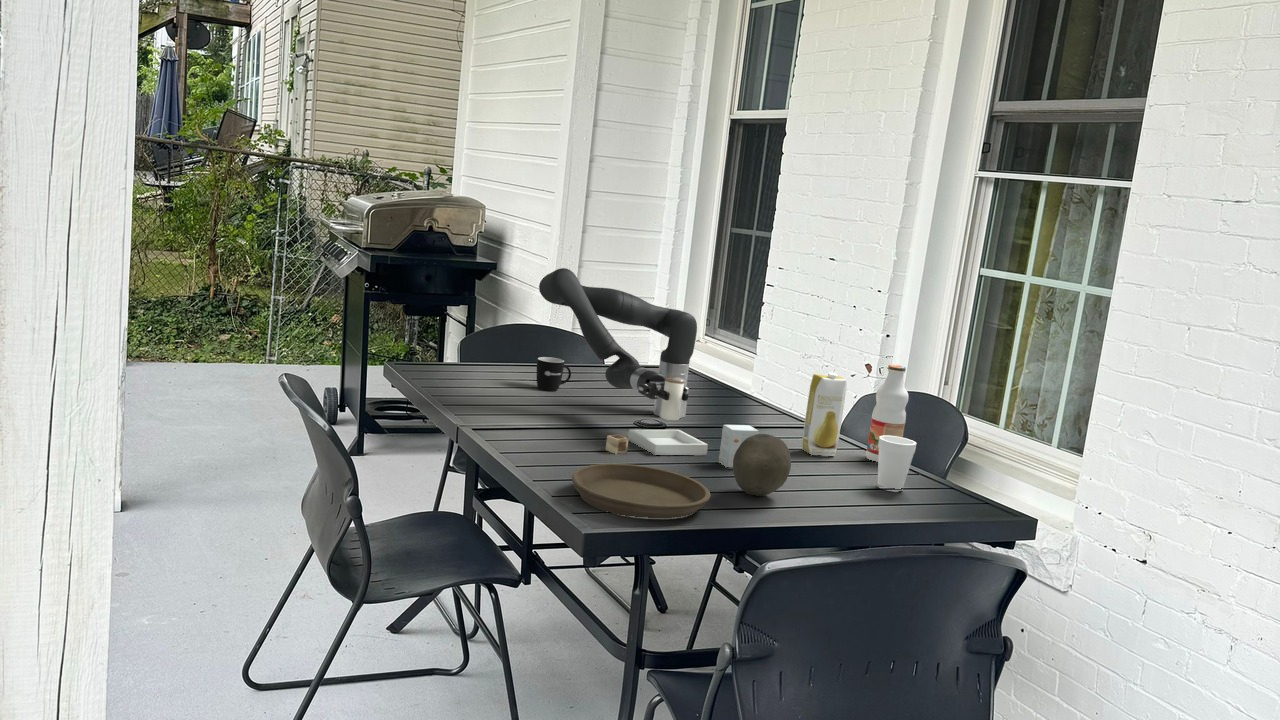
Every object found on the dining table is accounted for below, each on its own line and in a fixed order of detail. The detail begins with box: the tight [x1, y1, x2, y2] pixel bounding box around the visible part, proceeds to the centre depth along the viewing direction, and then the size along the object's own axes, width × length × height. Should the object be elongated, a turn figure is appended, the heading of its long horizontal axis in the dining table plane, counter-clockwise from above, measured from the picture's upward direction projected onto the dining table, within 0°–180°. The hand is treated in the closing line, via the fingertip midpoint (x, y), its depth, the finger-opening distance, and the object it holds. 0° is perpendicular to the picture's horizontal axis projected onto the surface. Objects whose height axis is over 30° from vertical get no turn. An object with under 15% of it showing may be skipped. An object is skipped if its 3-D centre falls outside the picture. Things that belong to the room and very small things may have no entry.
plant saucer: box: [571, 463, 711, 518], centre depth 227 cm, size 31×31×5 cm
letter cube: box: [605, 434, 629, 455], centre depth 268 cm, size 4×4×4 cm
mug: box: [536, 356, 572, 392], centre depth 339 cm, size 12×9×10 cm
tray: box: [627, 429, 709, 456], centre depth 279 cm, size 16×16×3 cm
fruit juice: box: [865, 364, 909, 463], centre depth 293 cm, size 9×9×28 cm
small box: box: [718, 424, 760, 468], centre depth 268 cm, size 8×6×10 cm
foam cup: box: [877, 436, 917, 489], centre depth 264 cm, size 10×9×13 cm
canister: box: [659, 376, 685, 421], centre depth 277 cm, size 5×5×11 cm
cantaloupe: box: [732, 433, 792, 497], centre depth 241 cm, size 14×14×15 cm
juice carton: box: [801, 372, 847, 457], centre depth 292 cm, size 9×8×24 cm
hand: (677, 396), depth 275 cm, fingers closed on canister, 5 cm apart
